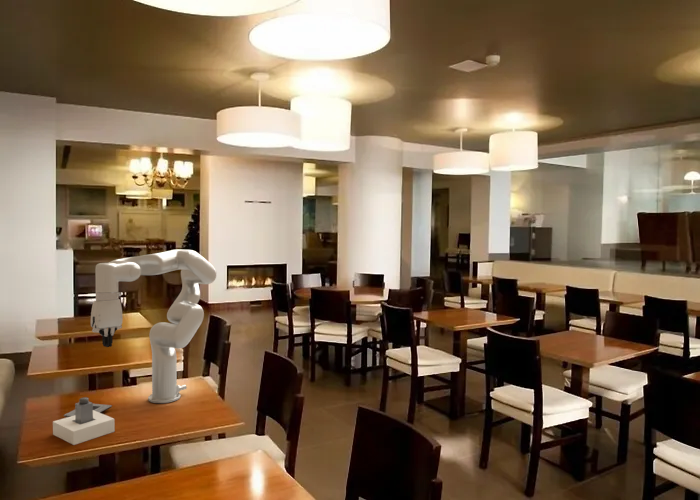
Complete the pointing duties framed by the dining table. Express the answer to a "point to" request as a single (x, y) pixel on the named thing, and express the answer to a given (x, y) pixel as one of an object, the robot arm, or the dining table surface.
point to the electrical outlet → (96, 407)
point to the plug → (83, 411)
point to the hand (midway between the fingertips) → (107, 346)
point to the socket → (83, 428)
